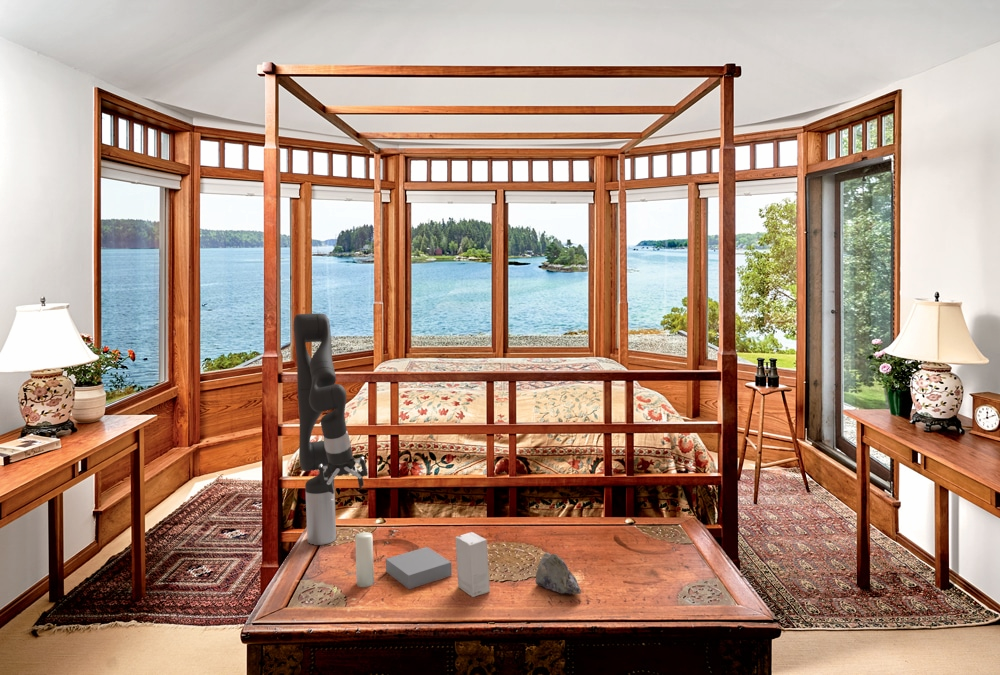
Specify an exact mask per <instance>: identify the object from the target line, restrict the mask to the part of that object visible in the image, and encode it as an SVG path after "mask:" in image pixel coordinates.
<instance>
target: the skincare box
mask: <svg viewBox="0 0 1000 675" xmlns="http://www.w3.org/2000/svg"><path fill="white" fill-rule="evenodd" d="M455 554H456V570H457V571H456V572H457V586H458V588H459V589H460V590H462V591H463V592H464V593H466V594H467V595H469V596H470V597H472V598H475V597H477V596H481V595H485V594H487V593H490V591H491V590H490V589H491V588H490V571H489V560H488V559H489V557H488V556H489V555H488V540H487V539H486V538H484V537H482V536H481V535H479V534H477V533H475V532H474V531H471V532H467V533H464V534H461V535H458V536H455Z"/></svg>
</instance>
